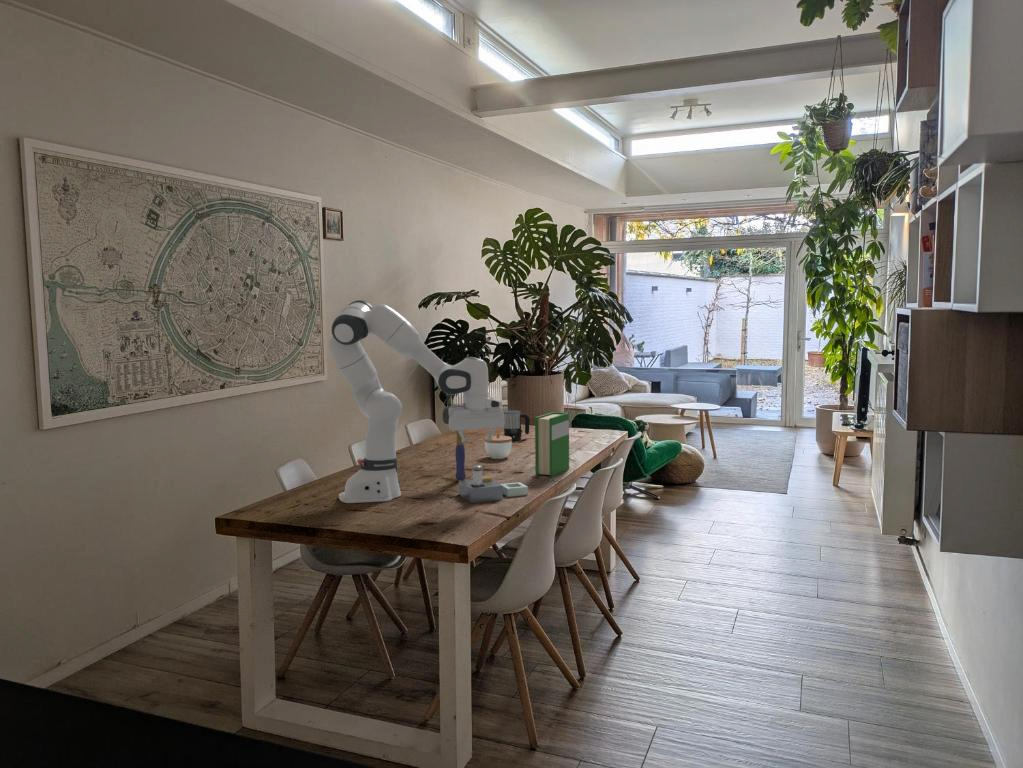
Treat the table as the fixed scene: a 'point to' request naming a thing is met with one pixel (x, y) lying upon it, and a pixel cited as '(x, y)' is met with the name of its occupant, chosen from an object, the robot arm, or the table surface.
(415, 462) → the table surface
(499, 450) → the lidded bowl
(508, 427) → the milk frother
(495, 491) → the socket block
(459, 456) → the rubber mallet
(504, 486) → the pale green square frame
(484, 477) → the gold rectangular block
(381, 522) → the table surface
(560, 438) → the hardback book
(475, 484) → the metal cylindrical peg
